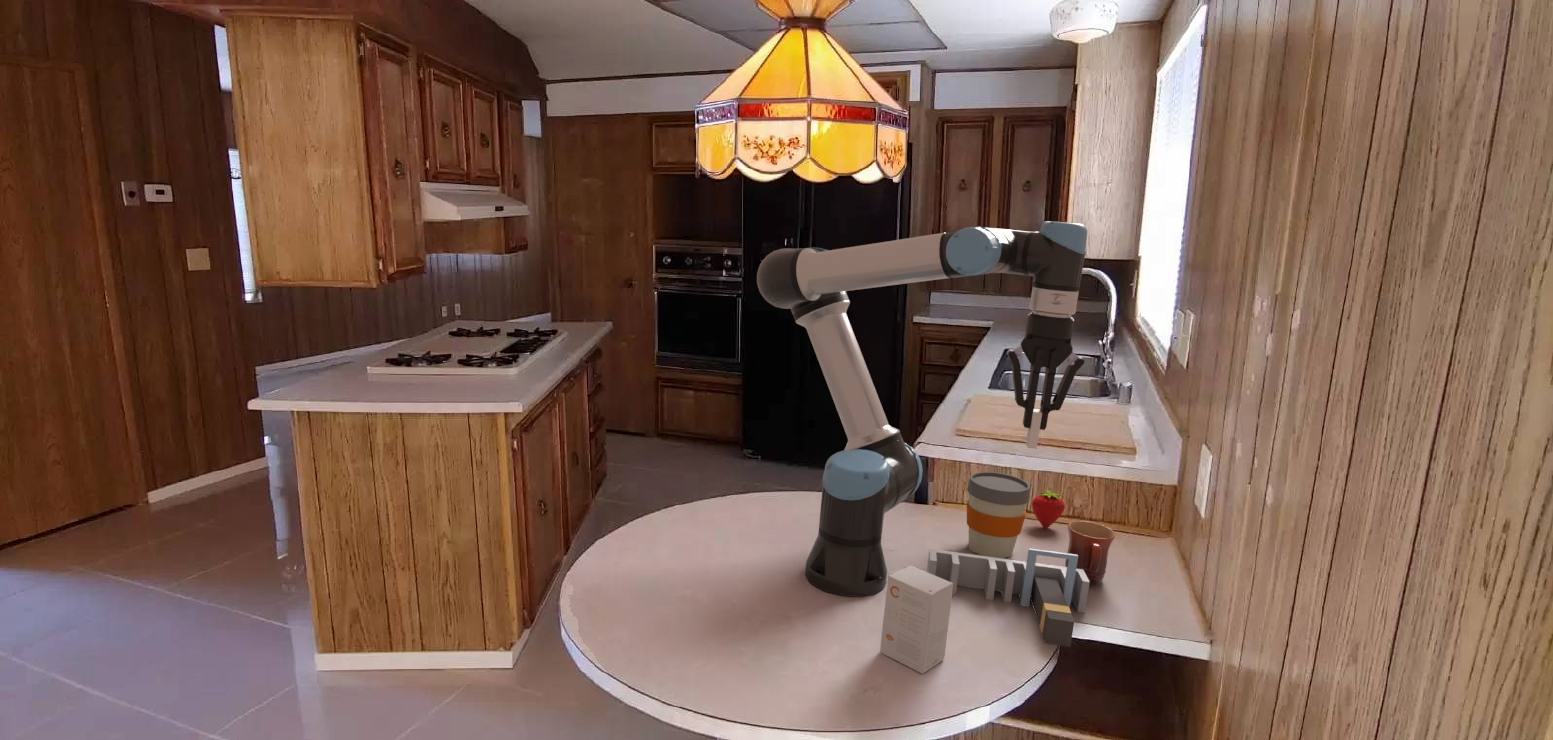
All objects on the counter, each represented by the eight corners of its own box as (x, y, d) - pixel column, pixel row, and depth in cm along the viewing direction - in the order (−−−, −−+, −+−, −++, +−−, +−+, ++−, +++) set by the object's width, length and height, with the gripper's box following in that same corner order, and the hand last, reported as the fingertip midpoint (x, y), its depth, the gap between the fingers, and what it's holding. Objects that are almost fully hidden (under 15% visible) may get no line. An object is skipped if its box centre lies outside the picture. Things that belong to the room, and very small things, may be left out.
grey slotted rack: (926, 590, 146) (930, 560, 145) (925, 578, 152) (929, 548, 150) (1084, 613, 143) (1089, 582, 142) (1078, 599, 148) (1083, 569, 147)
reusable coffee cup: (1025, 566, 161) (1035, 495, 158) (962, 557, 162) (971, 487, 159) (1016, 541, 173) (1026, 475, 170) (958, 533, 175) (966, 468, 172)
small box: (944, 660, 124) (955, 582, 121) (922, 675, 119) (932, 595, 117) (901, 638, 129) (910, 564, 127) (878, 652, 125) (887, 575, 122)
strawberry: (1023, 522, 184) (1029, 481, 182) (1053, 522, 186) (1059, 481, 184) (1035, 532, 179) (1042, 490, 177) (1066, 532, 180) (1073, 490, 178)
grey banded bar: (1044, 643, 131) (1048, 617, 130) (1030, 598, 147) (1033, 575, 146) (1070, 647, 131) (1074, 621, 130) (1053, 601, 146) (1057, 578, 145)
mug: (1057, 565, 162) (1064, 518, 160) (1102, 572, 161) (1110, 524, 159) (1066, 592, 151) (1074, 541, 149) (1114, 599, 149) (1123, 548, 147)
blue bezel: (1020, 605, 144) (1029, 549, 142) (1020, 604, 144) (1028, 548, 142) (1069, 612, 143) (1078, 556, 140) (1068, 610, 143) (1077, 554, 141)
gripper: (1015, 312, 133) (995, 447, 138) (1096, 320, 131) (1073, 457, 136) (1009, 307, 141) (991, 435, 145) (1086, 315, 139) (1065, 445, 143)
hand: (1031, 446), depth 141 cm, fingers closed
